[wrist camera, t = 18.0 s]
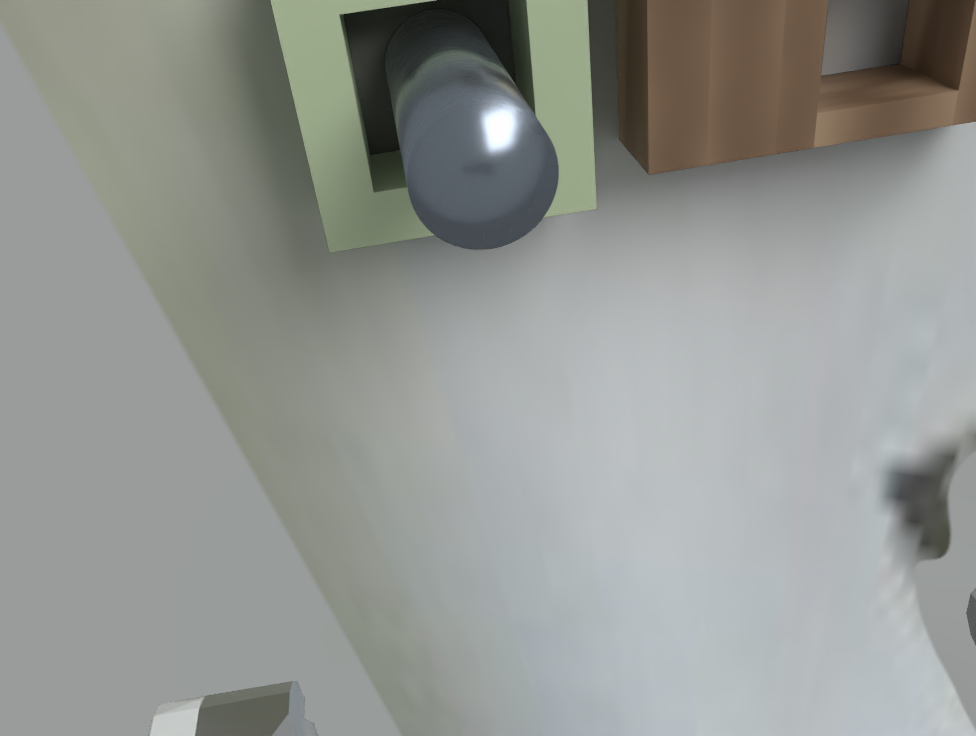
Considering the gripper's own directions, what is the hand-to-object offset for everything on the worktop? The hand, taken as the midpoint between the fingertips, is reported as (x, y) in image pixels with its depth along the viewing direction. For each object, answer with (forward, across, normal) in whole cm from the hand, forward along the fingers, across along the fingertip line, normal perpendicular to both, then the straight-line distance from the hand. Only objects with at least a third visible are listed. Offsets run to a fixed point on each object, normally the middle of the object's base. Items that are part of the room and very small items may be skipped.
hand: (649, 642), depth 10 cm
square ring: (+27, 0, 0) cm, 27 cm away
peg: (+27, 0, 0) cm, 27 cm away
